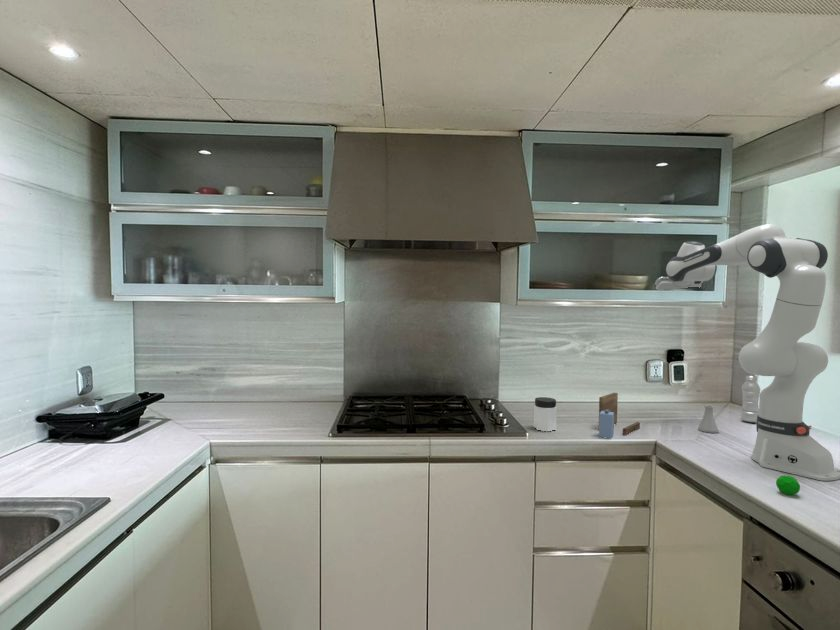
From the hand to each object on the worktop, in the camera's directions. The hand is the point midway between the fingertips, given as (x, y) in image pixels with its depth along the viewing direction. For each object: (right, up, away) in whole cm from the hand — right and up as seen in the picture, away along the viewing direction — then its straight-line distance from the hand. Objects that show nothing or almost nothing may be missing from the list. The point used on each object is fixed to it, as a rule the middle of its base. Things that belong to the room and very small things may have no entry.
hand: (669, 304), depth 203 cm
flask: (+4, -51, -20) cm, 55 cm away
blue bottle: (-40, -51, -29) cm, 71 cm away
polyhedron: (-12, -53, -79) cm, 96 cm away
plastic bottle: (+31, -51, -6) cm, 60 cm away
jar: (-61, -50, -20) cm, 82 cm away
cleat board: (-31, -51, -19) cm, 62 cm away
